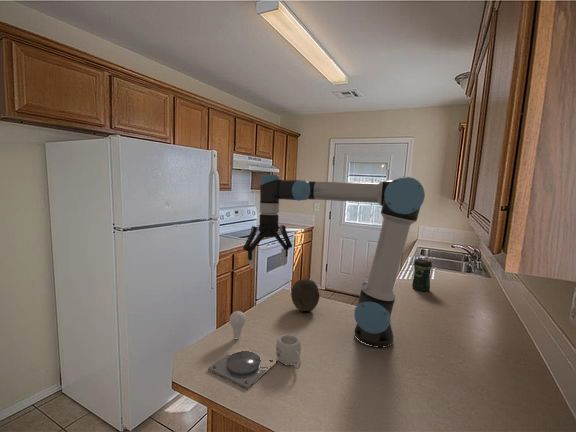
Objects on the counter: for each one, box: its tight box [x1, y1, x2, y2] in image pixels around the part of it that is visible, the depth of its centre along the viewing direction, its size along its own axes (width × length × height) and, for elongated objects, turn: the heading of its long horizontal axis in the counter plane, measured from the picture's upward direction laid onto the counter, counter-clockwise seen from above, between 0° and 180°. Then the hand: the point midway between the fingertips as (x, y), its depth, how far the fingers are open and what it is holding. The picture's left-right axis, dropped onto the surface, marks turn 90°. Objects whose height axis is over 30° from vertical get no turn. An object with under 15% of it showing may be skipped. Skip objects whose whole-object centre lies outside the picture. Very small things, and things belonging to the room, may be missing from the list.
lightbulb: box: [229, 310, 246, 339], centre depth 113 cm, size 6×6×11 cm
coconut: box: [290, 278, 320, 312], centre depth 141 cm, size 14×14×15 cm
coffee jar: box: [411, 258, 433, 292], centre depth 179 cm, size 10×8×19 cm
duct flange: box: [207, 351, 273, 390], centre depth 96 cm, size 16×16×2 cm
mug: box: [275, 333, 302, 370], centre depth 99 cm, size 12×8×8 cm
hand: (267, 266), depth 118 cm, fingers open, 13 cm apart
